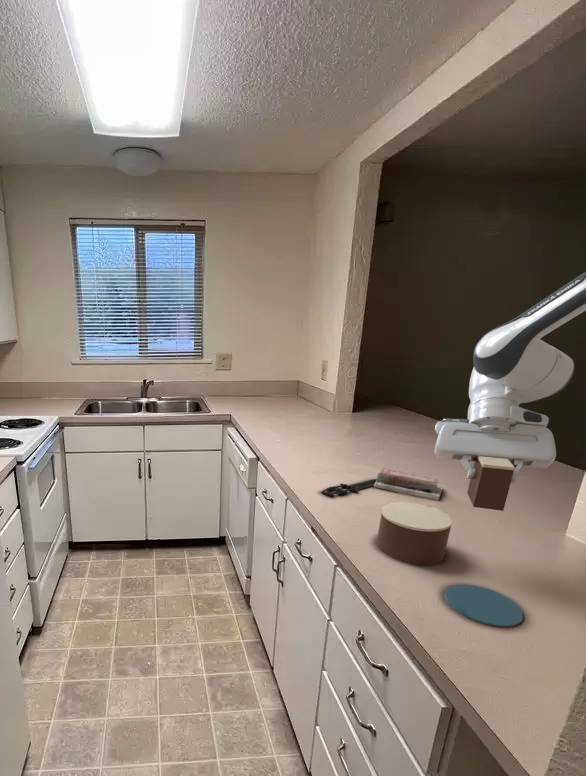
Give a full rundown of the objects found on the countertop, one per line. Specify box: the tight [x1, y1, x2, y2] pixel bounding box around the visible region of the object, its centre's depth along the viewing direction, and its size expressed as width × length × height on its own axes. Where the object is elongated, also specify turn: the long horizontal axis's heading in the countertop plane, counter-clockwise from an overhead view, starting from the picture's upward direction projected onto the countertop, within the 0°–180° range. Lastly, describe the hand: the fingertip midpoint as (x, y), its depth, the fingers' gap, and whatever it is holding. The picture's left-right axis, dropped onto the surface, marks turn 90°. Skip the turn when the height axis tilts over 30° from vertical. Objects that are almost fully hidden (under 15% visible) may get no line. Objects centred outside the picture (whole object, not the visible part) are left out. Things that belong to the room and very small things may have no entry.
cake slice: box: [466, 456, 515, 512], centre depth 87 cm, size 5×8×9 cm, turn 156°
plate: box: [444, 584, 524, 628], centre depth 80 cm, size 12×12×1 cm
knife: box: [320, 478, 377, 498], centre depth 135 cm, size 25×6×1 cm, turn 112°
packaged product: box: [373, 468, 443, 501], centre depth 133 cm, size 18×5×10 cm
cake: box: [376, 501, 453, 566], centre depth 99 cm, size 14×14×9 cm
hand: (490, 480), depth 86 cm, fingers closed on cake slice, 5 cm apart
